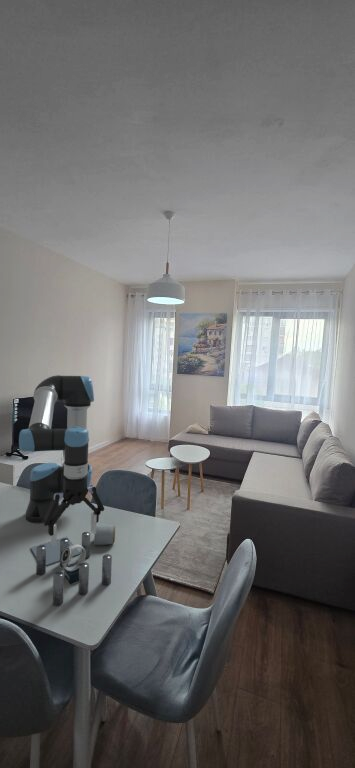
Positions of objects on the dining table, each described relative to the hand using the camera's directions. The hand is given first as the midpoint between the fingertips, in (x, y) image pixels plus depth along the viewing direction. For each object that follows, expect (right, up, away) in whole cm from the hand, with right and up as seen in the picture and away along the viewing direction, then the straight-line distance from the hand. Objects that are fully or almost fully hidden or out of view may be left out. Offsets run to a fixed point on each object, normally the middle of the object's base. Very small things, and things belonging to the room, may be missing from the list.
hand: (74, 537), depth 112 cm
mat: (-12, -12, +16) cm, 23 cm away
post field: (-1, -14, +2) cm, 14 cm away
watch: (-1, -14, +2) cm, 14 cm away
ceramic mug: (+4, -13, +24) cm, 28 cm away
